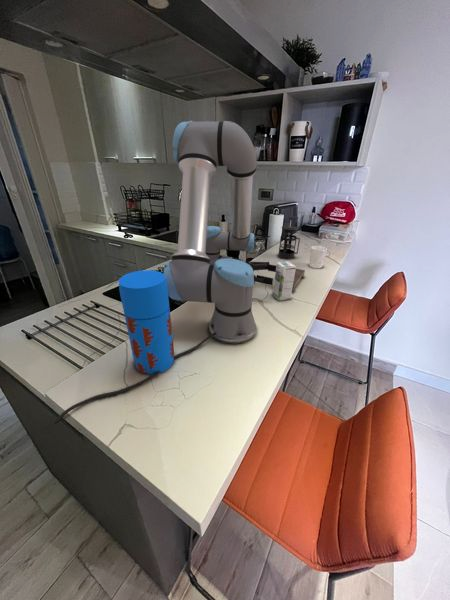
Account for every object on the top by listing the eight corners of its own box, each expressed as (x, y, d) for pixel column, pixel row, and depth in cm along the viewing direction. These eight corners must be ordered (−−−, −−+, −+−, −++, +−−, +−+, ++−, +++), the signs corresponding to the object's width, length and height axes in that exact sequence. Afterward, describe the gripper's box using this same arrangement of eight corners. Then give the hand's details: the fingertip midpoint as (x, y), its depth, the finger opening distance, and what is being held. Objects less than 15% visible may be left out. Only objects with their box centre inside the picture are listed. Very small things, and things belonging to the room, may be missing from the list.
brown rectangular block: (292, 292, 110) (293, 285, 108) (274, 288, 113) (275, 281, 111) (303, 276, 125) (305, 270, 123) (287, 273, 128) (288, 267, 127)
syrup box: (271, 294, 108) (275, 262, 101) (284, 293, 109) (288, 260, 102) (278, 301, 103) (283, 267, 96) (291, 299, 105) (296, 265, 98)
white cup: (321, 263, 141) (325, 246, 137) (324, 269, 134) (328, 250, 130) (306, 263, 142) (309, 245, 137) (309, 268, 135) (312, 250, 130)
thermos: (158, 343, 78) (148, 266, 66) (182, 358, 72) (175, 277, 60) (127, 362, 71) (108, 279, 59) (150, 381, 65) (135, 293, 53)
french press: (274, 257, 150) (279, 216, 139) (279, 252, 157) (284, 214, 146) (294, 260, 145) (300, 219, 134) (298, 256, 152) (305, 216, 141)
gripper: (242, 265, 123) (285, 273, 115) (216, 284, 104) (266, 296, 95) (243, 250, 120) (287, 257, 111) (216, 267, 100) (268, 277, 92)
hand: (278, 275), depth 103 cm, fingers open, 13 cm apart
